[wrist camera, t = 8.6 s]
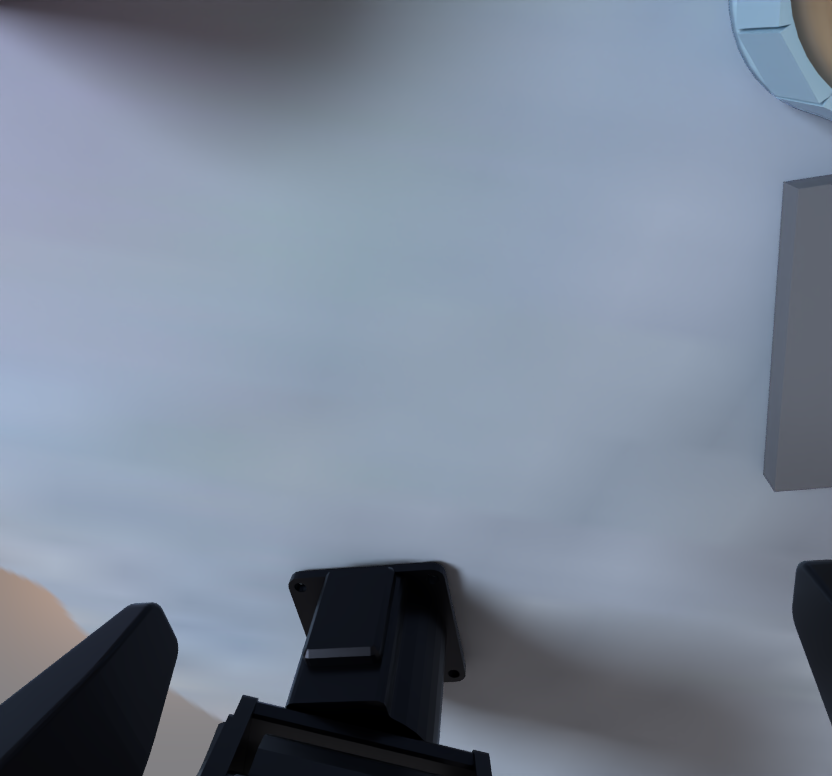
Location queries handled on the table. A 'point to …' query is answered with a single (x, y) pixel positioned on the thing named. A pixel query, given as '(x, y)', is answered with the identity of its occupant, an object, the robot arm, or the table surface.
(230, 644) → the table surface
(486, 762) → the robot arm
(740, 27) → the bowl
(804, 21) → the lid
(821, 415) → the mat
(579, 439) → the table surface
